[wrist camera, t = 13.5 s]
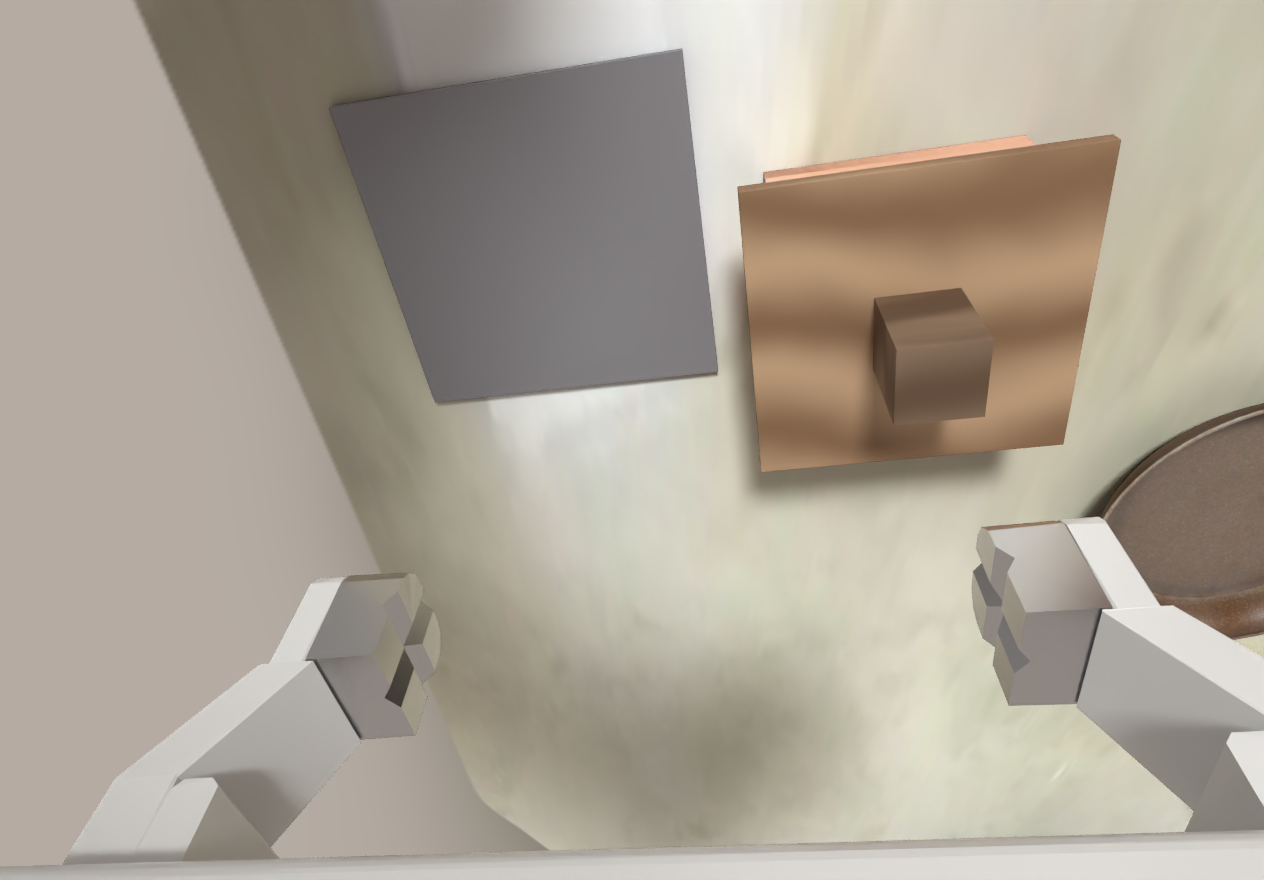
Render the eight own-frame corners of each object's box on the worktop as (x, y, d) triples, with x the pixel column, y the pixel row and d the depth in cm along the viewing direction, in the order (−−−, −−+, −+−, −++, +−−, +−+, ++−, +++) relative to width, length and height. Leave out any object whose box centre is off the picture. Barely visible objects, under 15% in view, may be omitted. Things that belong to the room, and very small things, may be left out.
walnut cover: (737, 186, 36) (745, 235, 32) (1112, 134, 34) (1180, 178, 30) (760, 463, 46) (769, 532, 41) (1057, 435, 44) (1102, 505, 39)
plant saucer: (1500, 395, 48) (1549, 428, 45) (1287, 625, 60) (1316, 661, 57) (1166, 347, 47) (1195, 377, 44) (1019, 589, 59) (1035, 624, 56)
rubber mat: (332, 105, 41) (328, 108, 41) (682, 48, 39) (681, 50, 38) (436, 398, 51) (435, 402, 51) (717, 367, 49) (718, 371, 49)
